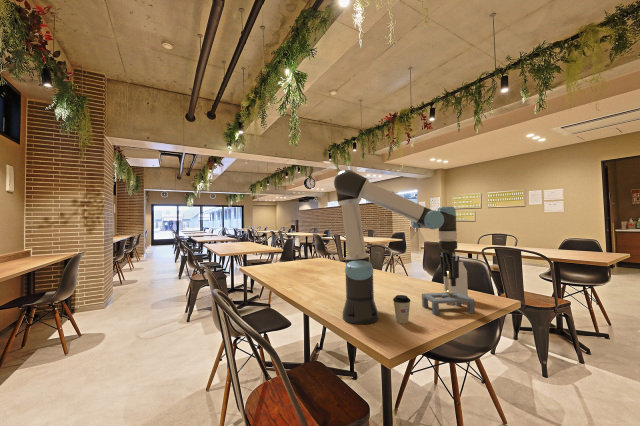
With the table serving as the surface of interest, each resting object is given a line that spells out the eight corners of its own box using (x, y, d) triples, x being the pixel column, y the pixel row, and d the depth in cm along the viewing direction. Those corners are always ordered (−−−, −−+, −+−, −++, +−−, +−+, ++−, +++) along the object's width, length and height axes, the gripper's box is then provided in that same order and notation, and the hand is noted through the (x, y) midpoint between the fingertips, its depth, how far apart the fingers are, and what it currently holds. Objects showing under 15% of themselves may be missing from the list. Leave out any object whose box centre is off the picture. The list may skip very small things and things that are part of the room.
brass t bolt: (449, 305, 121) (447, 272, 122) (444, 303, 125) (443, 270, 125) (457, 305, 121) (455, 271, 122) (452, 302, 125) (451, 270, 126)
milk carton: (468, 301, 134) (466, 263, 135) (453, 301, 134) (452, 263, 135) (461, 297, 141) (459, 260, 142) (447, 297, 141) (445, 261, 142)
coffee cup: (390, 319, 112) (389, 295, 112) (403, 317, 115) (402, 293, 115) (401, 325, 106) (400, 299, 106) (415, 322, 109) (414, 297, 109)
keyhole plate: (434, 315, 116) (434, 301, 117) (422, 306, 128) (421, 293, 129) (474, 313, 118) (474, 299, 118) (458, 304, 129) (458, 292, 130)
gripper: (466, 241, 116) (469, 296, 115) (446, 238, 133) (448, 287, 132) (449, 242, 115) (452, 297, 115) (431, 239, 132) (433, 287, 131)
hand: (450, 291), depth 123 cm, fingers closed on brass t bolt, 4 cm apart
